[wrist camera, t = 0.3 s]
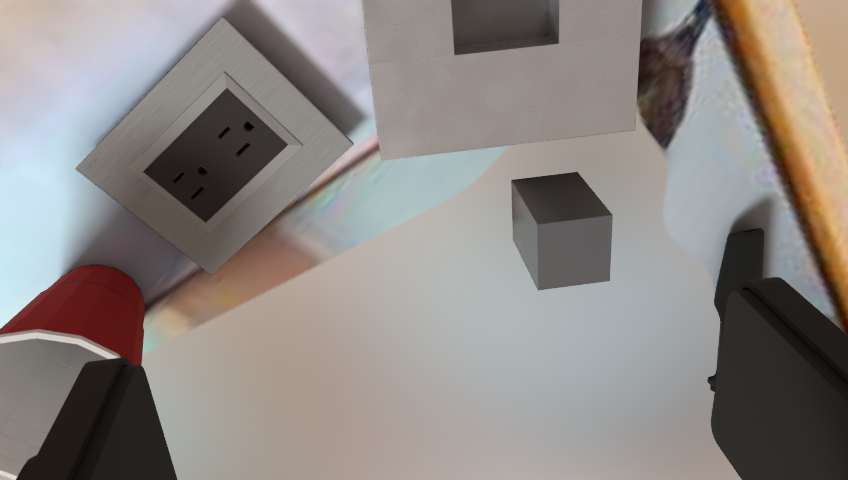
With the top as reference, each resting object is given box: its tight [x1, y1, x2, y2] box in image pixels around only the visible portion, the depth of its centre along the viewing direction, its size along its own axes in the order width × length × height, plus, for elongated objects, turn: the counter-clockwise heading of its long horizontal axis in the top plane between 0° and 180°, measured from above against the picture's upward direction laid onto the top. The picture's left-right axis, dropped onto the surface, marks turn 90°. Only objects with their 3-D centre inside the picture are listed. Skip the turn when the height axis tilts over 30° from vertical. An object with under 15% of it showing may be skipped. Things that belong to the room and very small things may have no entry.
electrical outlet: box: [76, 16, 354, 275], centre depth 45 cm, size 13×10×2 cm
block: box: [511, 172, 612, 290], centre depth 47 cm, size 5×5×7 cm
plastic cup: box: [0, 265, 145, 480], centre depth 44 cm, size 11×11×12 cm
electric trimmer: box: [708, 228, 764, 392], centre depth 55 cm, size 4×16×3 cm, turn 7°
